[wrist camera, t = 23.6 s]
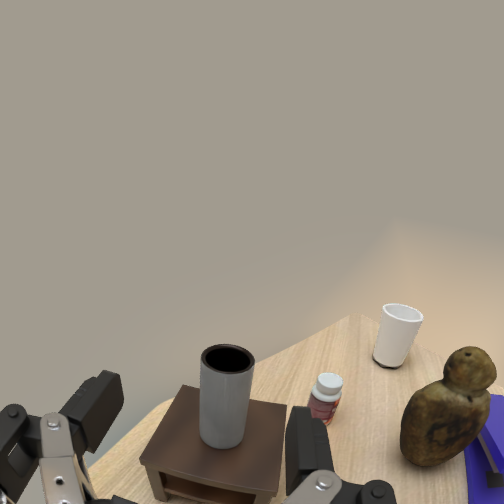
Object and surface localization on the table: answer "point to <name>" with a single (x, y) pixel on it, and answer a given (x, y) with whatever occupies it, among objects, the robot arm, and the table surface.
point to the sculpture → (448, 409)
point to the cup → (396, 334)
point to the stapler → (487, 458)
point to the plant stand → (215, 455)
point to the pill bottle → (325, 396)
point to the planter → (224, 394)
